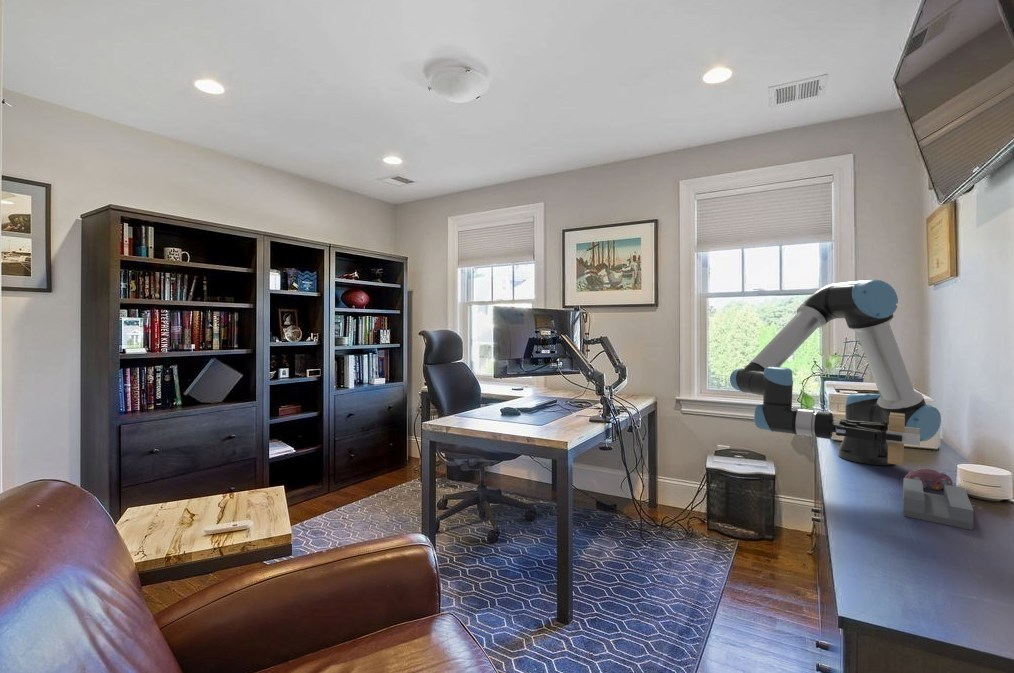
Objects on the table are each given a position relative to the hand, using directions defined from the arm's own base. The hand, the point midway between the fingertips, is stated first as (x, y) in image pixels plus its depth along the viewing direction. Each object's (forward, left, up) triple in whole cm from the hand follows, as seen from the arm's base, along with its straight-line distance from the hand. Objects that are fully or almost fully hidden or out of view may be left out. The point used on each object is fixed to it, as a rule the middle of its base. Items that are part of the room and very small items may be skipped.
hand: (919, 436), depth 119 cm
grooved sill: (+1, +3, -18) cm, 18 cm away
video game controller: (-20, +3, -18) cm, 27 cm away
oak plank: (0, -5, -7) cm, 8 cm away
